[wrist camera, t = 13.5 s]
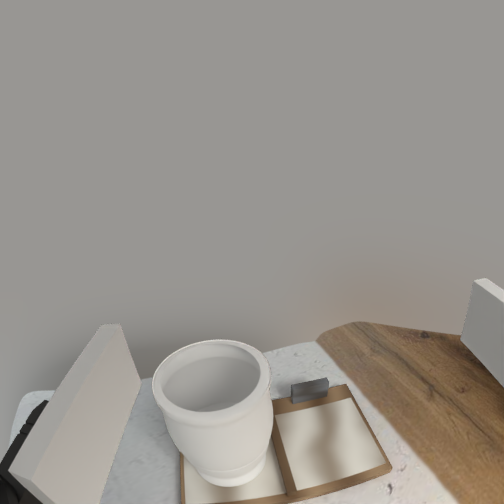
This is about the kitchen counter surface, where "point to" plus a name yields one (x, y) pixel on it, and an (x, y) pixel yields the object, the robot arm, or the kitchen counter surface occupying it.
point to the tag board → (302, 452)
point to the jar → (217, 408)
